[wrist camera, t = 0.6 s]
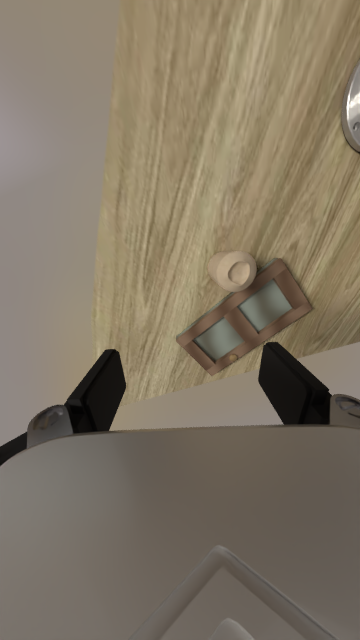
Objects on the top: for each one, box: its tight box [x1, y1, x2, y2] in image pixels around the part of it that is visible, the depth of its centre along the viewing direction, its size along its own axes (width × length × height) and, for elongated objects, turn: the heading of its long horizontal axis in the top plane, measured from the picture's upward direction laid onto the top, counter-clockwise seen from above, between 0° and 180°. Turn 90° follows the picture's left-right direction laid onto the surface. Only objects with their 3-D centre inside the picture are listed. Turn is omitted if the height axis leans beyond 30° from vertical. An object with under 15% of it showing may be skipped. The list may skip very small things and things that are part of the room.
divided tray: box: [176, 258, 312, 376], centre depth 34 cm, size 24×12×3 cm, turn 132°
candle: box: [208, 251, 257, 292], centre depth 26 cm, size 6×6×10 cm
